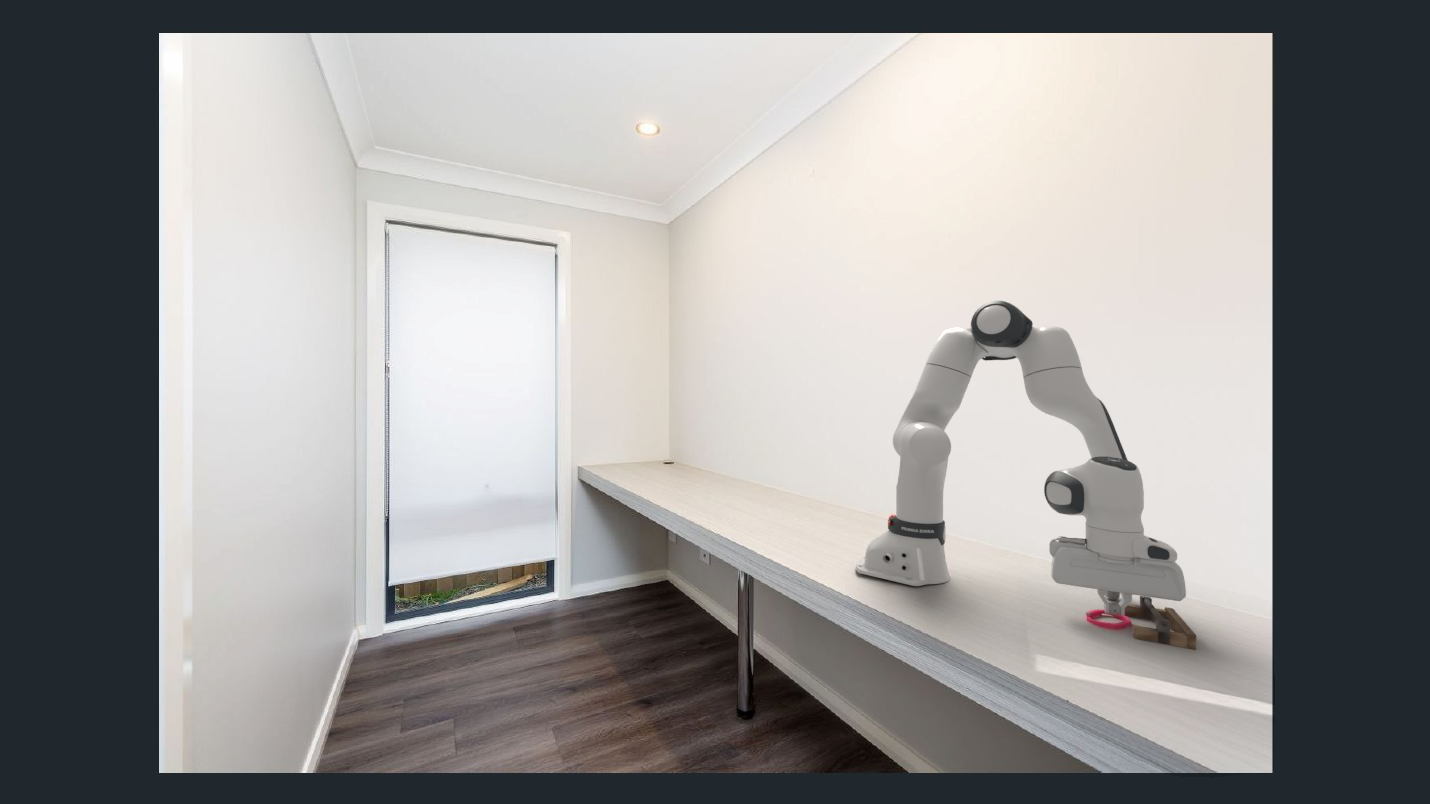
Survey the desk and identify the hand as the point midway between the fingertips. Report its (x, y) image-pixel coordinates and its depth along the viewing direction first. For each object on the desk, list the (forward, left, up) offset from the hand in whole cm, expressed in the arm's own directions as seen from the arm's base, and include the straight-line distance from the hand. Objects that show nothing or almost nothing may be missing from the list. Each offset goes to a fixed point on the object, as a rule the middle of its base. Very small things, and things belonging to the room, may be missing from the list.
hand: (1114, 613), depth 96 cm
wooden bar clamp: (+5, 0, -2) cm, 5 cm away
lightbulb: (+2, +14, -2) cm, 14 cm away
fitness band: (-1, 0, -2) cm, 2 cm away
